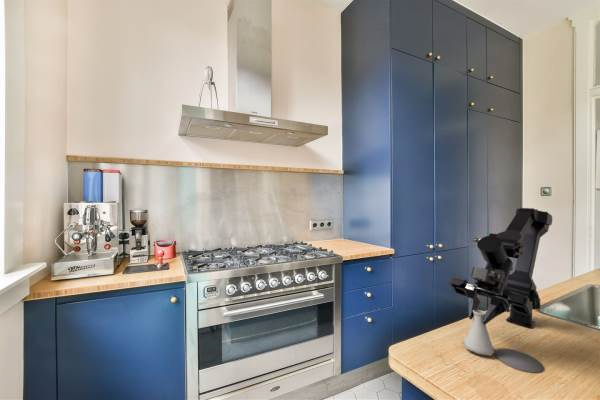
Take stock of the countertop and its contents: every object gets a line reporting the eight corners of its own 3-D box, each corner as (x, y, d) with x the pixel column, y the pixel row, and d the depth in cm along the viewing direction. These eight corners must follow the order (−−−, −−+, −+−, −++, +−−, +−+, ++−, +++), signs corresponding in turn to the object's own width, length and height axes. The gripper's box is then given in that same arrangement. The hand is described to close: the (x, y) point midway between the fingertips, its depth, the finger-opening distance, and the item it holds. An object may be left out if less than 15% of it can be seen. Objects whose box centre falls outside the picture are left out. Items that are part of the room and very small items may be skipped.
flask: (461, 349, 72) (463, 312, 72) (463, 339, 78) (464, 304, 78) (494, 359, 68) (496, 319, 68) (494, 347, 74) (495, 311, 74)
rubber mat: (501, 345, 75) (501, 344, 75) (546, 362, 68) (546, 361, 68) (489, 358, 69) (489, 357, 69) (538, 378, 62) (538, 377, 62)
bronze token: (471, 343, 77) (471, 342, 77) (491, 351, 73) (491, 350, 73) (464, 349, 73) (464, 348, 73) (485, 358, 70) (485, 357, 69)
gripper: (452, 250, 82) (431, 293, 77) (530, 264, 67) (510, 319, 61) (465, 271, 87) (445, 313, 81) (540, 289, 71) (522, 343, 66)
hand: (476, 320), depth 72 cm, fingers closed on flask, 3 cm apart
